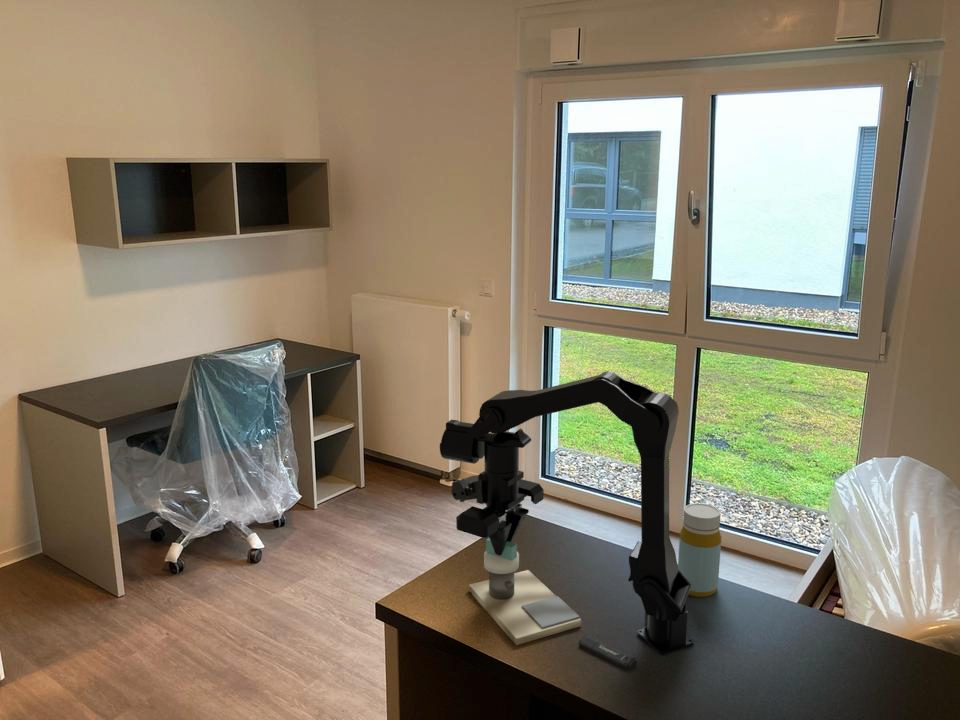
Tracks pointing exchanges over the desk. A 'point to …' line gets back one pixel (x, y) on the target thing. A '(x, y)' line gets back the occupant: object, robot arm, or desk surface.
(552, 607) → the board
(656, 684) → the desk surface
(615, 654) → the usb stick
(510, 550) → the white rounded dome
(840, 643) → the desk surface
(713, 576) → the bottle
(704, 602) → the desk surface
